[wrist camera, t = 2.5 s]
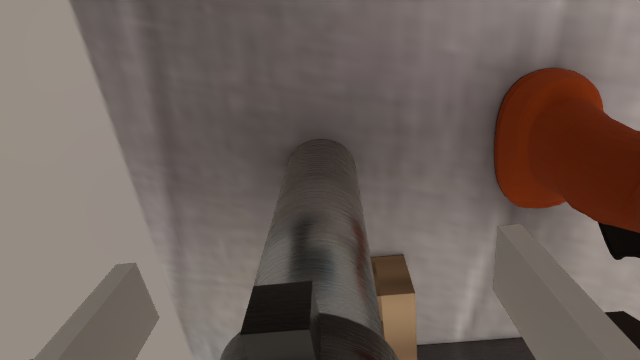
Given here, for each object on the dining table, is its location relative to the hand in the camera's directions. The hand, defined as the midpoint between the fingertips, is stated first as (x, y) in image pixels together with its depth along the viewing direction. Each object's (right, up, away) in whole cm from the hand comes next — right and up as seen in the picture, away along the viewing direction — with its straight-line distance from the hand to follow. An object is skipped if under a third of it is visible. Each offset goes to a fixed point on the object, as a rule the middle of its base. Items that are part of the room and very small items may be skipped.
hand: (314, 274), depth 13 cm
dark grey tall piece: (0, +4, +8) cm, 9 cm away
